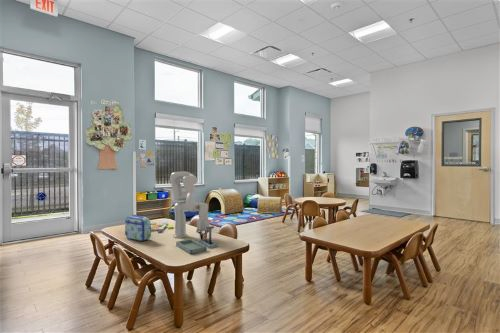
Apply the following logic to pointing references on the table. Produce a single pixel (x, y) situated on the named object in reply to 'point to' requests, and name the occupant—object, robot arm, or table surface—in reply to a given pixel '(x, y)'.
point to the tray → (191, 246)
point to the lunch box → (137, 228)
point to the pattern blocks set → (159, 227)
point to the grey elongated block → (204, 240)
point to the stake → (210, 234)
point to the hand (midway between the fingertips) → (203, 238)
